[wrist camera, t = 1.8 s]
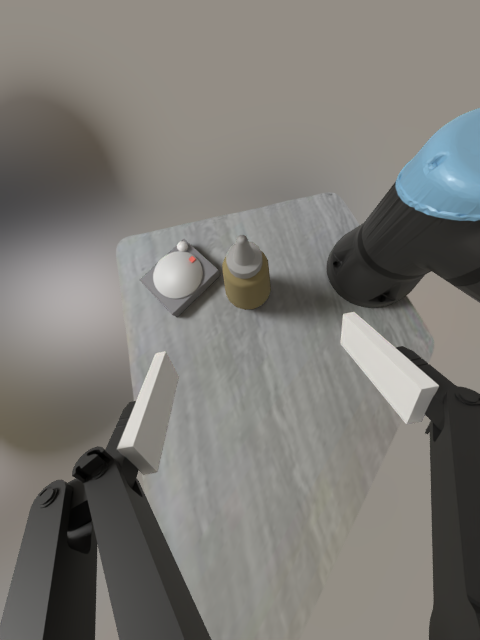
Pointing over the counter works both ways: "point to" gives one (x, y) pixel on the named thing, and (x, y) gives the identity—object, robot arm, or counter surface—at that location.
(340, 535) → the counter surface
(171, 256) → the white dome on base
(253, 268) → the squeeze bottle
